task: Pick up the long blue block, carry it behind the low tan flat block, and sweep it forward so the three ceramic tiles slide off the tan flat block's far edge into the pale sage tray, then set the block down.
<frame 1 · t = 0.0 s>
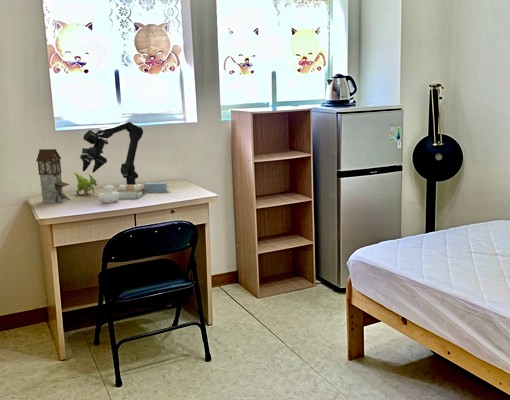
hand: (88, 171, 326), 15 cm above the table, tool tilted 35°, fingers open, 9 cm apart
tile b: (131, 189, 331), point 3 cm above the table, touching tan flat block
model building: (56, 201, 319), on the table
tile c: (138, 189, 330), point 3 cm above the table, touching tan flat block
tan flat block: (131, 194, 332), on the table
tile a: (123, 189, 332), point 3 cm above the table, touching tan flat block
toy: (86, 194, 337), on the table
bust: (109, 202, 310), on the table
long blue block: (156, 192, 336), on the table
tray: (126, 197, 323), on the table
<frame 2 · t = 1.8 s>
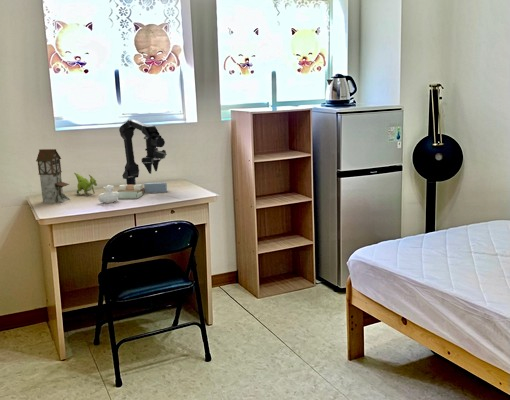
hand: (153, 172, 333), 12 cm above the table, tool pointing down, fingers open, 9 cm apart
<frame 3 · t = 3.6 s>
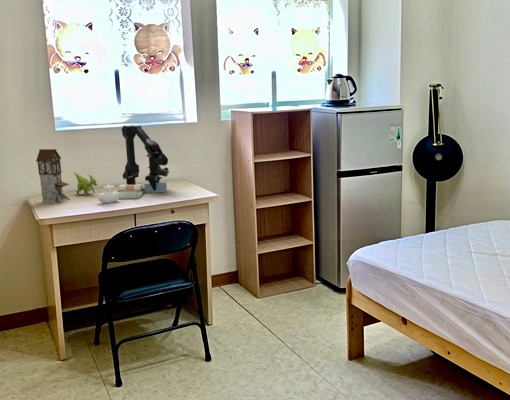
hand: (155, 189, 336), 1 cm above the table, tool pointing down, fingers closed on long blue block, 4 cm apart
long blue block: (156, 191, 336), on the table, touching gripper
everything else where it was.
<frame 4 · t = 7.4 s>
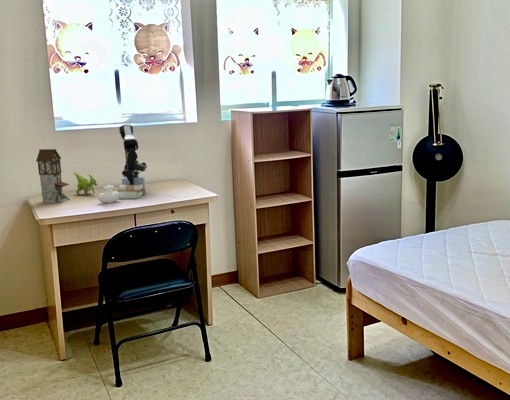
hand: (133, 184, 335), 5 cm above the table, tool pointing down, fingers closed on long blue block, 4 cm apart
tile b: (131, 189, 331), point 3 cm above the table, touching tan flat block, gripper
long blue block: (133, 186, 335), point 4 cm above the table, touching gripper
everything else where it was.
when the fingers open (5 cm above the table, at t = 8.4 s): long blue block moves 2 cm, point 3 cm above the table.
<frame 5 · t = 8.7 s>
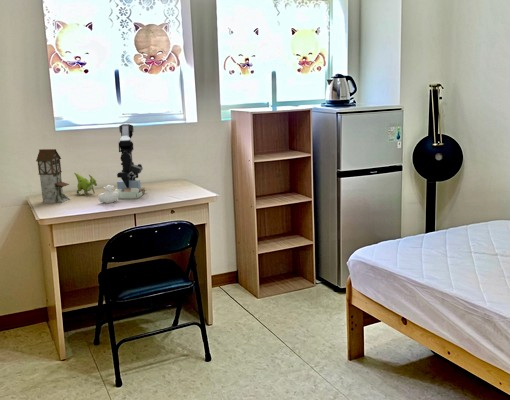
hand: (129, 187, 328), 5 cm above the table, tool pointing down
tile b: (128, 191, 326), point 2 cm above the table, tilted 90°, touching tray
tile c: (135, 192, 325), point 2 cm above the table, tilted 59°, touching tray
tile a: (119, 192, 326), point 2 cm above the table, tilted 91°, touching tray
long blue block: (129, 190, 328), point 3 cm above the table, touching gripper
everything else where it was.
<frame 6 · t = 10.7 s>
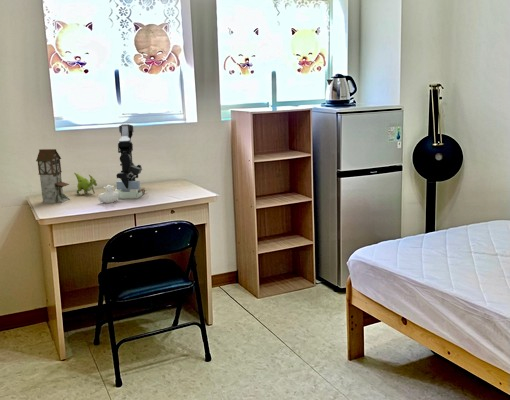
hand: (128, 187, 327), 5 cm above the table, tool pointing down, fingers closed on long blue block, 4 cm apart
tile b: (126, 192, 321), point 3 cm above the table, tilted 180°, touching tray
tile c: (134, 192, 324), point 2 cm above the table, tilted 90°, touching tray
long blue block: (128, 190, 327), point 3 cm above the table, touching gripper
everything else where it was.
when the fingers open (5 cm above the table, at t = 11.8 s): long blue block stays where it is, resting on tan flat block.
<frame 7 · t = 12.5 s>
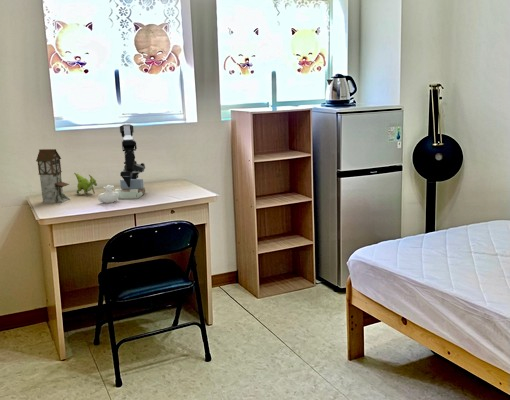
hand: (132, 185, 333), 5 cm above the table, tool pointing down, fingers open, 9 cm apart
long blue block: (132, 188, 333), point 3 cm above the table, touching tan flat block
everything else where it was.
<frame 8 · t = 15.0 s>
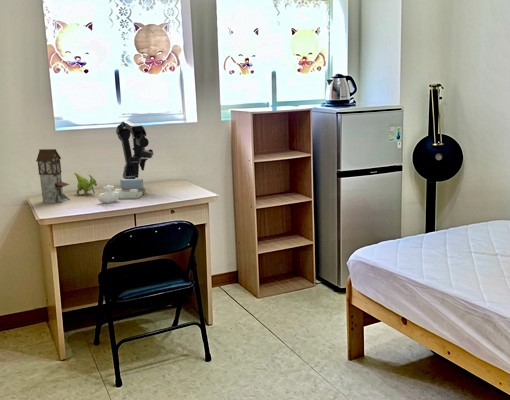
hand: (140, 171, 335), 13 cm above the table, tool pointing down, fingers open, 9 cm apart
nothing on the table moved.
at the end: tile a inside the target area (5.7 cm from its centre), point 2.4 cm above the table; tile b inside the target area (0.9 cm from its centre), point 2.9 cm above the table; tile c inside the target area (5.4 cm from its centre), point 2.4 cm above the table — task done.
